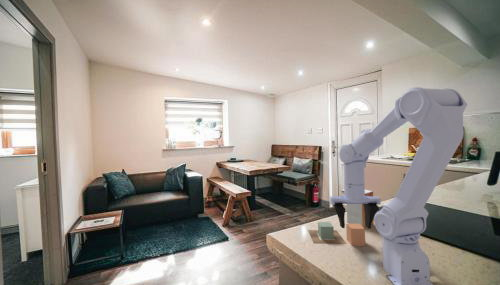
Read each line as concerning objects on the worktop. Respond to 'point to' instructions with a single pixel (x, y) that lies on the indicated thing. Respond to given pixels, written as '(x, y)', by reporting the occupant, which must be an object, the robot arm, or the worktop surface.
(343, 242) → the build board
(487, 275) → the worktop surface
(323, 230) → the green block
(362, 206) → the small box
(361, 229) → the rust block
